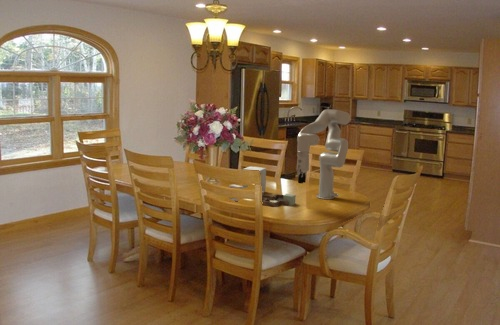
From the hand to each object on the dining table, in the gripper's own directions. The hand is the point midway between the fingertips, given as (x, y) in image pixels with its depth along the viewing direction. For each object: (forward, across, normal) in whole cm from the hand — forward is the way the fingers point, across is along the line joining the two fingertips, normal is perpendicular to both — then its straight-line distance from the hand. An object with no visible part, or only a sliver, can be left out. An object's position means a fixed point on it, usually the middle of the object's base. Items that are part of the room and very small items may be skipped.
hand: (301, 182), depth 313 cm
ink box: (+16, -19, +37) cm, 44 cm away
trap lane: (+15, 0, +18) cm, 24 cm away
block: (+15, 0, +8) cm, 17 cm away
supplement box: (+16, +17, +43) cm, 49 cm away
